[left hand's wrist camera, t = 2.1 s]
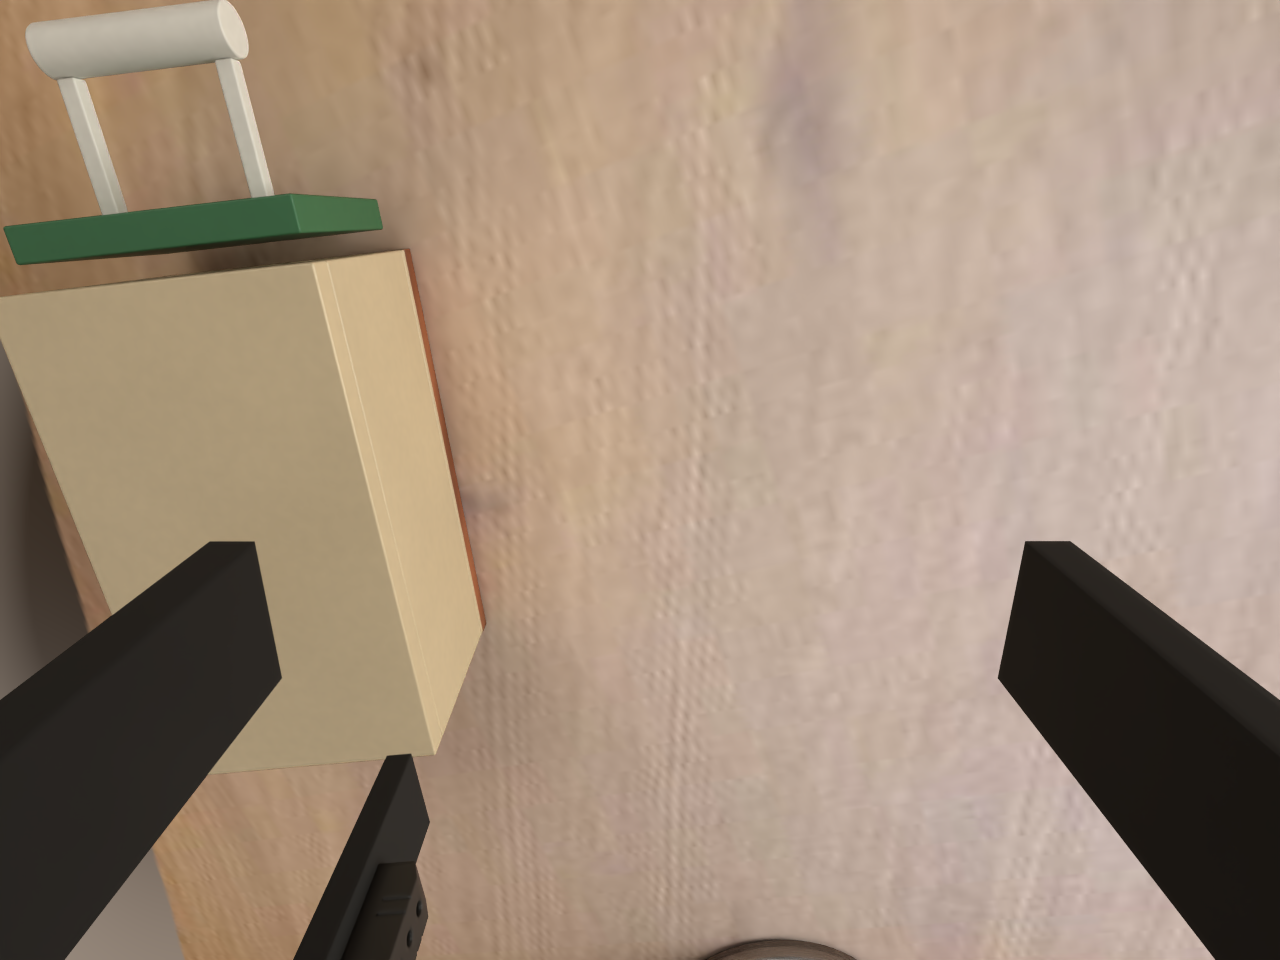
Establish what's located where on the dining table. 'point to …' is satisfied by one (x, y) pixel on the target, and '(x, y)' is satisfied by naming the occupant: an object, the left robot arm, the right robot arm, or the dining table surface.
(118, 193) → the drawer
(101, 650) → the left robot arm
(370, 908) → the right robot arm
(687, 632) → the dining table surface
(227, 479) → the cabinet
